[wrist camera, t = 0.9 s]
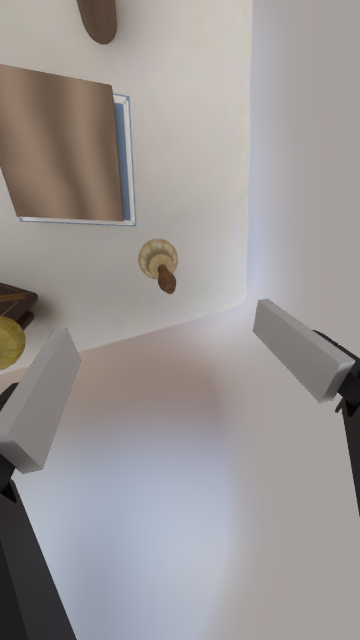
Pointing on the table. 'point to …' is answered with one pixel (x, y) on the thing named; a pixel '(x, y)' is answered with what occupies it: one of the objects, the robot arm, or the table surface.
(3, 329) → the book
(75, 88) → the walnut plinth
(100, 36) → the wooden blocks
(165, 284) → the hand bell
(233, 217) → the table surface
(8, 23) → the table surface
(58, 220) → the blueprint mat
